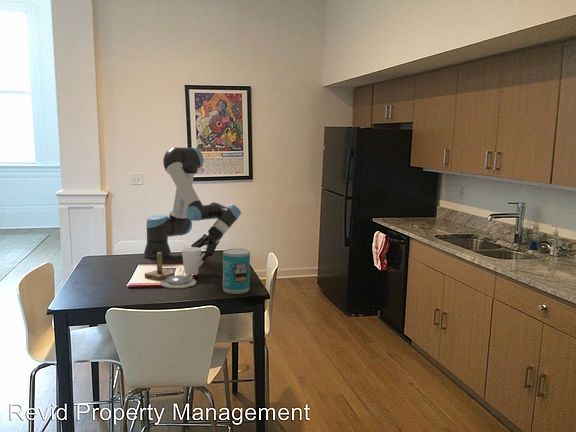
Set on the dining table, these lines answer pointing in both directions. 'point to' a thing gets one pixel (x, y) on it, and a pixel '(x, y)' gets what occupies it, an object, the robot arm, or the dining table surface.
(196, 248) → the foam cup
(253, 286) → the dining table surface
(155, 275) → the stand
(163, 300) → the dining table surface
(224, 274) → the food can
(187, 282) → the grey plate
